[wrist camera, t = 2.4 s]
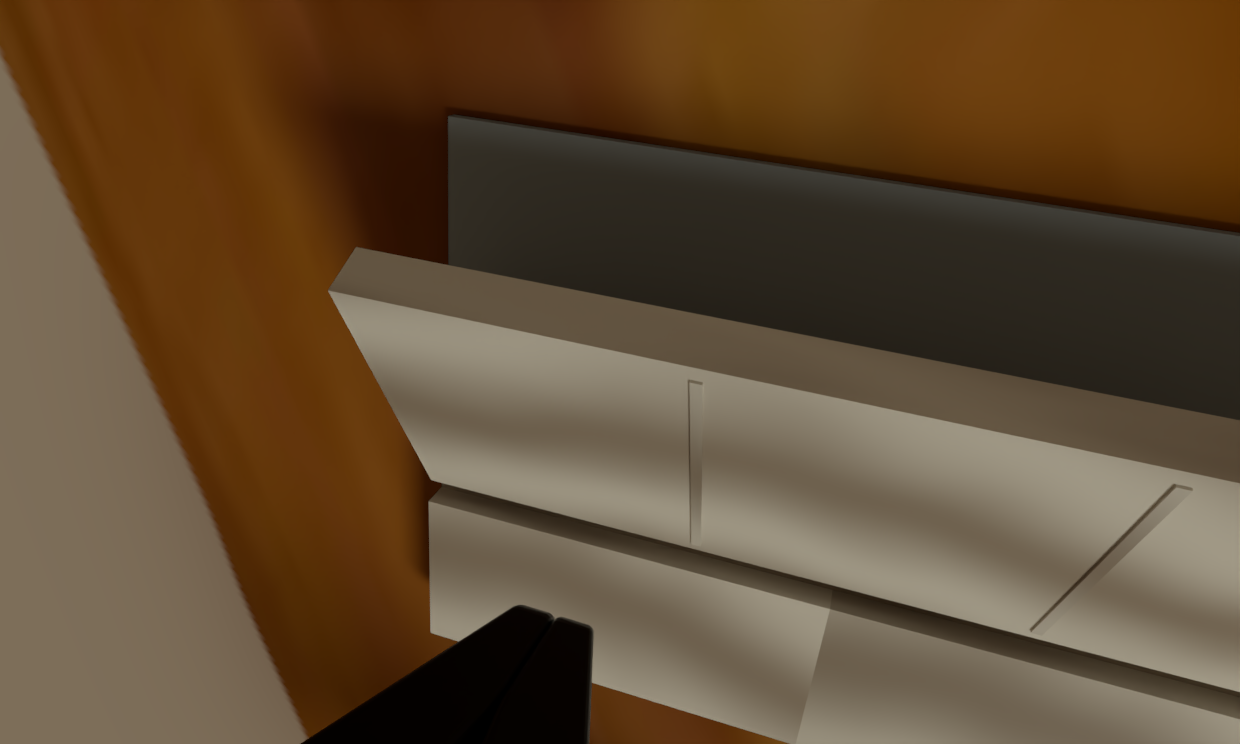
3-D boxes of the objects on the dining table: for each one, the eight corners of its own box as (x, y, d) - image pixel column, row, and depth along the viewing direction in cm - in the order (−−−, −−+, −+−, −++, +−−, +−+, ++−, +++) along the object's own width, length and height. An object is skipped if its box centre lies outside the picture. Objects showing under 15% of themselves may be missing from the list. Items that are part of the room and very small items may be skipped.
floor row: (1233, 841, 22) (1250, 885, 20) (449, 607, 27) (430, 632, 26) (1330, 686, 19) (1354, 727, 18) (448, 461, 24) (428, 482, 23)
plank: (1342, 666, 19) (1352, 724, 18) (449, 443, 24) (430, 482, 23) (1686, 508, 12) (1719, 588, 12) (355, 246, 17) (326, 292, 17)
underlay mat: (1273, 844, 22) (1278, 854, 21) (453, 601, 27) (449, 607, 27) (1638, 292, 15) (1651, 299, 15) (454, 114, 20) (447, 116, 20)
